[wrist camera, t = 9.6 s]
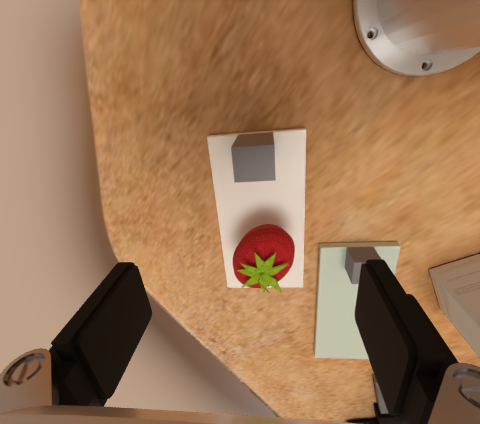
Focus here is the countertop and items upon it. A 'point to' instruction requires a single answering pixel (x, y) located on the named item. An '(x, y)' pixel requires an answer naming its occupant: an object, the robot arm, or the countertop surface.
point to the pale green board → (344, 295)
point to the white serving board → (260, 190)
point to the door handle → (379, 410)
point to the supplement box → (460, 296)
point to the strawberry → (263, 257)
